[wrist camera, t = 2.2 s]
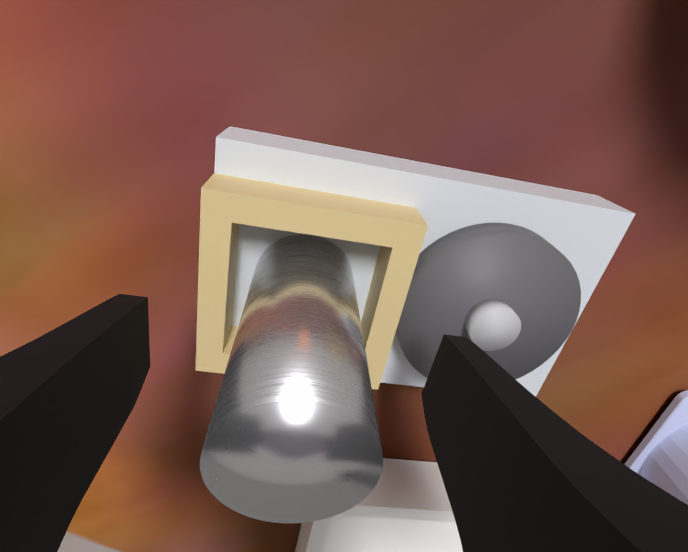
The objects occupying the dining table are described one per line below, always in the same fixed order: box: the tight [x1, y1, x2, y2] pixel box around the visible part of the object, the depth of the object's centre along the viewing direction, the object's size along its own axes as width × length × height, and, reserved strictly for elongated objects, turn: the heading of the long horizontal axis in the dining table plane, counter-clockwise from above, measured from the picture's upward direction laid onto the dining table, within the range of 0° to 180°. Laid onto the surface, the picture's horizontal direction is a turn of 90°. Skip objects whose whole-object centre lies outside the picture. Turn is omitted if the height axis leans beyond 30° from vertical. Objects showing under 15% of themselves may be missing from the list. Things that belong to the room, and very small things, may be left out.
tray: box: [295, 458, 463, 552], centre depth 22 cm, size 11×11×3 cm
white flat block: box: [196, 126, 635, 397], centre depth 14 cm, size 13×8×4 cm, turn 79°
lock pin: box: [200, 234, 383, 523], centre depth 10 cm, size 3×3×7 cm
